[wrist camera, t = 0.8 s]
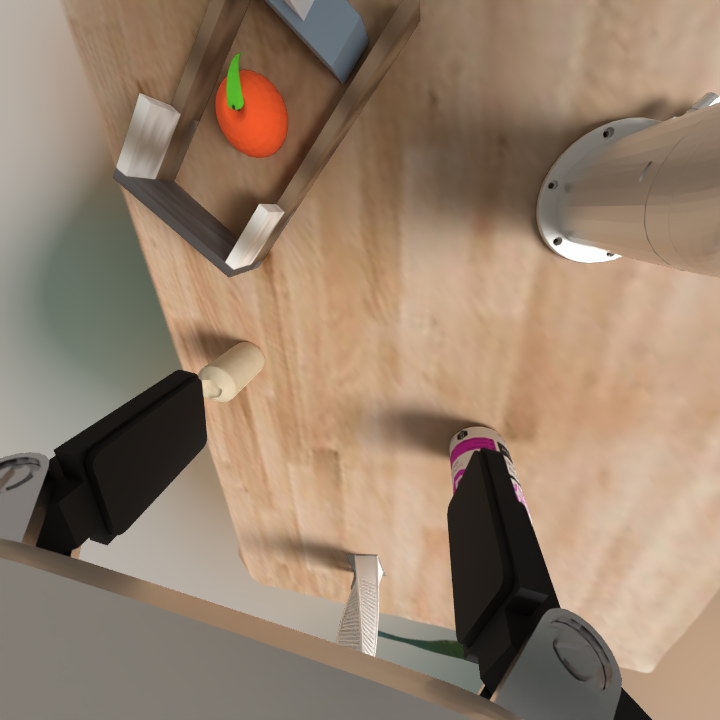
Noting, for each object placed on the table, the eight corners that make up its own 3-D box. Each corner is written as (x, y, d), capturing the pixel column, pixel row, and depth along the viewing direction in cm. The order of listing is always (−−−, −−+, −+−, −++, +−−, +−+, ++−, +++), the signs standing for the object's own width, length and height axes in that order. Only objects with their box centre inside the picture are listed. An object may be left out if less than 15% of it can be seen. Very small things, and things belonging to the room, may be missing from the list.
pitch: (290, -133, 26) (246, -242, 19) (420, 20, 28) (418, -33, 22) (162, 182, 39) (112, 177, 33) (258, 267, 41) (228, 277, 35)
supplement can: (439, 452, 49) (444, 541, 36) (465, 415, 45) (482, 500, 32) (486, 472, 49) (508, 568, 36) (516, 436, 45) (553, 530, 32)
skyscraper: (344, 548, 66) (296, 751, 41) (381, 549, 63) (352, 764, 39) (355, 572, 69) (316, 775, 44) (390, 574, 67) (369, 788, 42)
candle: (254, 378, 50) (218, 415, 41) (227, 357, 49) (183, 389, 40) (271, 357, 47) (236, 391, 39) (243, 334, 47) (200, 363, 38)
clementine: (234, 72, 32) (188, 39, 26) (296, 71, 31) (263, 36, 25) (243, 161, 36) (205, 151, 30) (299, 162, 35) (272, 152, 29)
